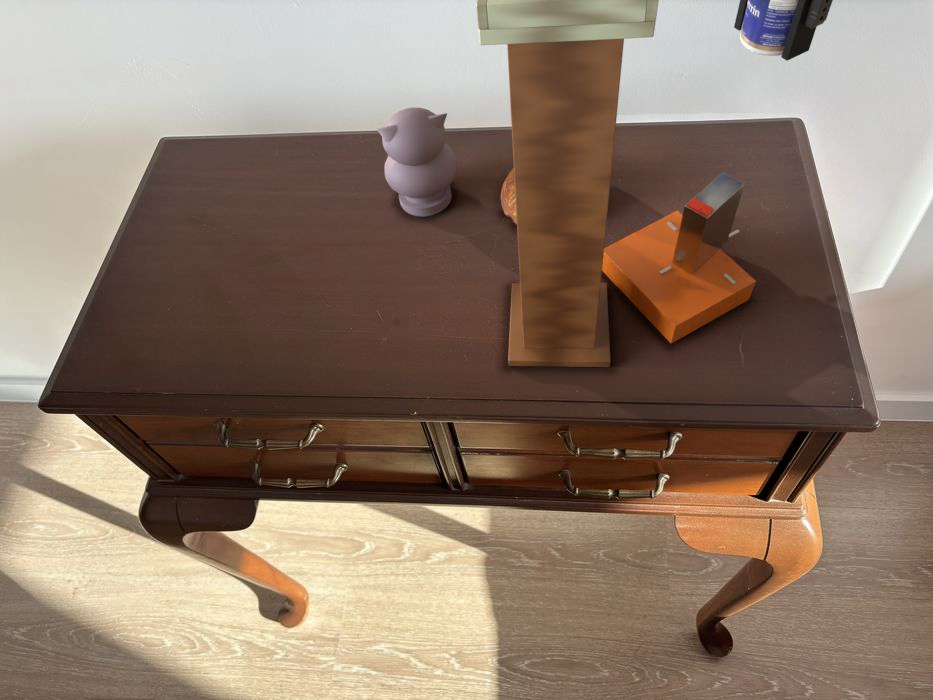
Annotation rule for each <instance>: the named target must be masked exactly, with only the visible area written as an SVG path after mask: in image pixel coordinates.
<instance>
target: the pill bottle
mask: <svg viewBox="0 0 933 700" xmlns="http://www.w3.org/2000/svg"><path fill="white" fill-rule="evenodd" d="M797 3H798V0H748V3H747V7H746V12H745V16H744V20H743V24H742V28H741V30H740V32H739V33H740V34H739V39H740V42H741V44H742V45H743V47H744V48H745V49H747V50H748V51H750V52H752V53H754V54H757V55H760V56H766V57H778V56H779V57H780V56H782V53H783V50H784V46H785V43H786V40H787V36H788V33H789V29H790V26H791V23H792V19H793V16H794V13H795V9H796V6H797Z"/></svg>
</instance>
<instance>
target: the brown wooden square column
mask: <svg viewBox="0 0 933 700" xmlns="http://www.w3.org/2000/svg"><path fill="white" fill-rule="evenodd" d="M475 7H476V17H477V28H478V40H479V45H480V46H497V45H498V46H499V45H506V47H507V49H506V50H507V66H508V67H507V68H508V84H509V85H508V86H509V105H510V116H511V117H510V121H511V122H510V123H511V139H512V156H513V157H512V158H513V168H514V178H515V197H516V215H517V225H516V228H517V229H516V231H517V232H516V233H517V248H518V251H517V252H518V268H519V269H518V270H519V282H512V283H511V299H510V315H509V316H510V321H509V334H508V335H509V337H508V338H509V339H508V357H507V363H508V366H509V367H567V368H568V367H569V368H570V367H573V368H574V367H575V368H578V367H579V368H589V367H590V368H610V367H611V344H610V343H611V341H610V322H609V301H608V300H609V298H608V282H602V275H603V274H602V273H603V271H602V265H603V255H604V248H605V245H606V244H605V243H606V234H607V233H606V232H607V222H608V211H609V202H610V201H609V200H610V191H611V182H612V181H611V180H612V170H613V161H614V160H613V159H614V150H615V149H614V148H615V138H616V137H615V136H616V127H617V118H618V108H619V107H618V106H619V95H620V85H621V75H622V63H623V55H624V54H623V53H624V43H625V40H626V39H645V38H646V39H647V38H653V37H654V36H655V31H656V22H657V16H658V9H659V0H476V5H475Z"/></svg>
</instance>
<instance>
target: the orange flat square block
mask: <svg viewBox="0 0 933 700" xmlns="http://www.w3.org/2000/svg"><path fill="white" fill-rule="evenodd" d="M682 216H683V213H681V212H680V211H679V210H676V211H674V212H671V213H670V214H668V215H665V216H664V217H662V218H660V219H658V220H656V221H654V222H652V223H651V224H648V225H647V226H644V227H643V228H641V229H638V230H637V231H635V232H633V233H631V234H629V235H627V236H624V237H623V238H622V239H619V240H618V241H616V242H614V243H612V244H610V245H608V246H606V247H604V255H603V265H602V273H603V274H605V276H606V277H607V278H608V279H609V280H610V281H611V282H612V283H613V284H614V285H615V287H616V288H617V289H619V290H620V291H621V292H622V293H623V295H624V296H626V298H627V299H628V300H629V301H630V302H631V303H632V304H633V305H634V306H635V307H636V309H638V311H639V312H640V313H642V315H643V316H644V317H645V318H646V319H647V320H648V321H649V322H650V323H651V324H652V325H653V326H654V328H655V329H656V330H658V332H659V333H660V334H661V335H662V336H663V337H664V338H665V339H666V341H668V343H670V344H673V343H675V342H677V341H679V340H680V339H682V338H684V337H685V336H687V335H689V334H691V333H692V332H694V331H696V330H698V329H699V328H701V327H703V326H705V325H707V324H709V323H710V322H712V321H714V320H715V319H717V318H720V317H721V316H723V315H724V314H726V313H728V312H730V311H731V310H733V309H735V308H736V307H738V306H741V305H742V304H744V303H745V302H747V301H749V300H750V298H751V295H752V293H753V290H754V287H755V286H756V282H757V281H756V279H754V278H753V277H752V276H751V275H750V274H749V273H748V272H746V271H745V270H744V269H743V268H742V267H741V266H740V265H739V264H738V263H736V261H734V260H733V259H732V258H731V257H730V256H729V255H728V254H727V253H726V252H724V251H723V250H722V249H721V248H720V249H719V250H718V251H717V252H716V253H715V254H714V255H713V256H711V257H710V258H709V259H708V260H707V261H706V262H705V263H704V264H703V265H702V266H701V267H700V268H699V269H698V270H697V271H696V272H695V273H694V274H693V275H692V274H690V273H689V272H687V271H685V270H684V269H682V268H680V267H679V266H677V265H675V264H674V263H672V261H673V257H674V252H675V248H676V243H677V239H678V234H679V230H680V225H681V220H682ZM738 234H740V230H739V229H736V230H734V231H732V232H730V234H729V237H728V239H731V238H732V237H734V236H736V235H738Z"/></svg>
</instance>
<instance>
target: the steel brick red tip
mask: <svg viewBox="0 0 933 700" xmlns="http://www.w3.org/2000/svg"><path fill="white" fill-rule="evenodd" d="M745 185H746V183H745V182H743V181H741V180H739V179H738V178H736V177H734V176H731V175H730V174H727V173H725V172H724V171H722V172H721V173H720V174H719V175H717V176H716V177H715V178H714V179H713V180H712V181H710V182H709V183H708V184H707V185H706V186H705V187H704V188H703V189H702V190H701V191H700V192H698V193H697V194H696V195H695V196H694V197H693V198H692V199H690V200H689V201H688V202H687V203H686V204H685V205H684V207H683V212H682V215H683V216H682V220H681V225H680V230H679V234H678V239H677V243H676V248H675V252H674V257H673V261H672V263H674V264H675V265H677V266H679V267H680V268H682V269H684V270H685V271H687V272H689V273H690V274H692V275H693V274H694V273H695V272H696V271H697V270H698V269H699V268H700V267H701V266H702V265H703V264H704V263H705V262H706V261H707V260H708V259H709V258H710V257H711V256H713V255H714V254H715V253H716V252H717V251H718V250H719V249H721V248H722V247H723V246H724V245H725V244H726V243H727V242H728V241H729V238H728V237H729V234H730V233H731V230H732V228H733V225H734V222H735V218H736V213H737V211H738V208H739V204H740V201H741V198H742V194H743V192H744V188H745Z"/></svg>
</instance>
